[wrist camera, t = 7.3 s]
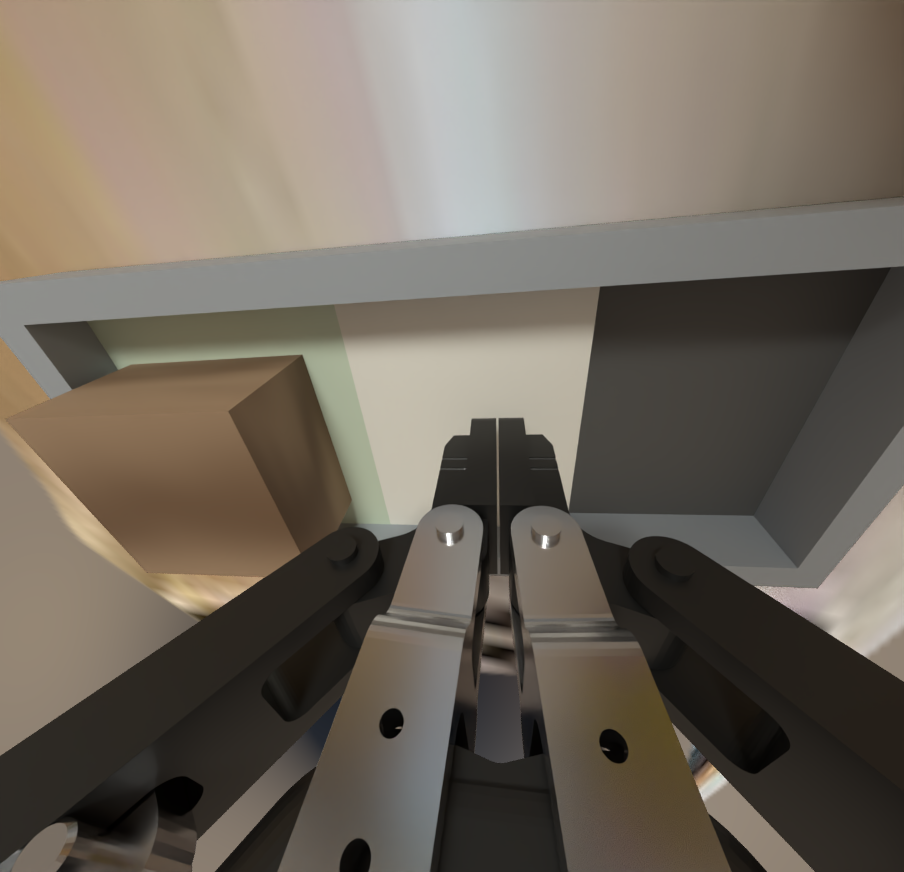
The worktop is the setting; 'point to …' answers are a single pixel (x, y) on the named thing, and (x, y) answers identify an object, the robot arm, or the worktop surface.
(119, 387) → the block
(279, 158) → the worktop surface
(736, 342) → the tray
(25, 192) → the worktop surface
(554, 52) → the worktop surface
